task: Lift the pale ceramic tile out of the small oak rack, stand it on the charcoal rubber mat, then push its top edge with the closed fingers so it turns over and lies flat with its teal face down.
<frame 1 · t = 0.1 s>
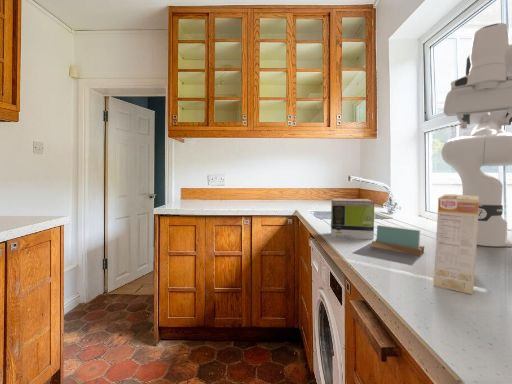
hand: (483, 126, 81), 39 cm above the countertop, tool pointing down, fingers open, 8 cm apart
tea box: (350, 237, 107), on the countertop
mat: (388, 254, 83), on the countertop
coffeecake box: (454, 281, 63), on the countertop
tile: (397, 238, 87), on the mat, point 4 cm above the countertop
rack: (397, 246, 87), on the mat, point 1 cm above the countertop
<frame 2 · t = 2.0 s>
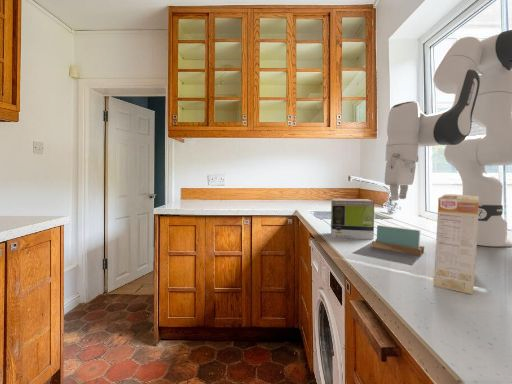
hand: (398, 199, 86), 17 cm above the countertop, tool pointing down, fingers open, 8 cm apart
nothing on the countertop moved.
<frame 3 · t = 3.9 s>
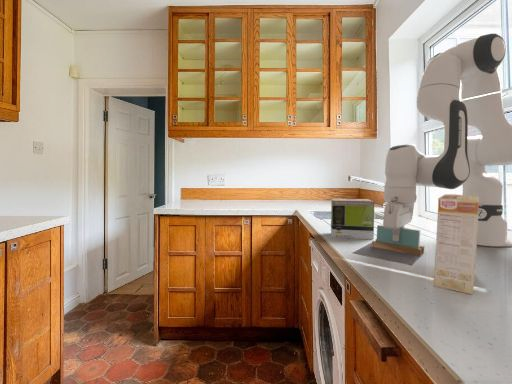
hand: (397, 239, 87), 4 cm above the countertop, tool pointing down, fingers closed on tile, 2 cm apart
tile: (397, 238, 87), on the mat, point 4 cm above the countertop, touching gripper
everything else where it was.
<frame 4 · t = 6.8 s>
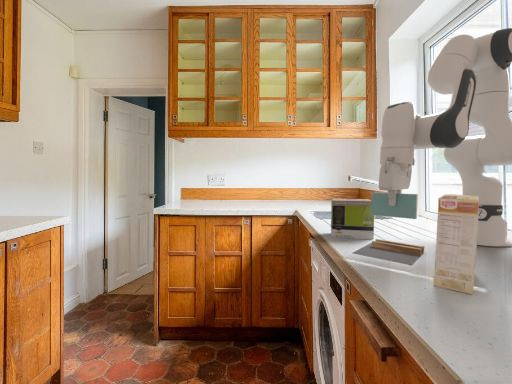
hand: (394, 205, 82), 15 cm above the countertop, tool pointing down, fingers closed on tile, 2 cm apart
tile: (393, 204, 82), point 15 cm above the countertop, touching gripper
everything else where it was.
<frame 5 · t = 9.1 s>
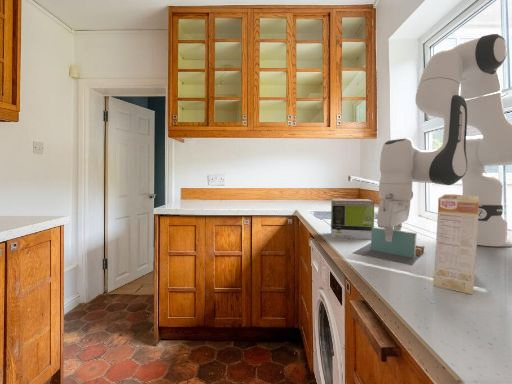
hand: (392, 239, 82), 5 cm above the countertop, tool pointing down, fingers open, 6 cm apart
tile: (392, 241, 82), on the mat, point 4 cm above the countertop
everything else where it was.
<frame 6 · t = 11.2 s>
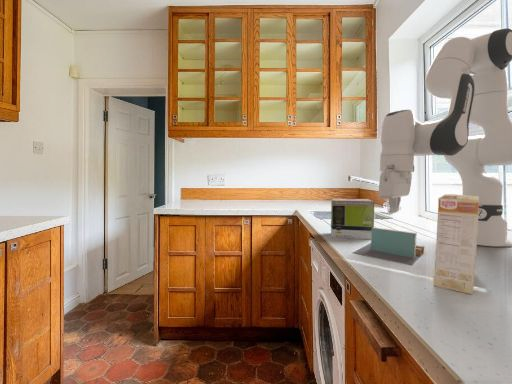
hand: (394, 212, 82), 13 cm above the countertop, tool pointing down, fingers closed
nothing on the countertop moved.
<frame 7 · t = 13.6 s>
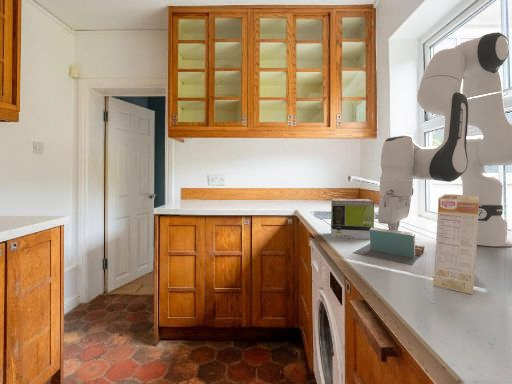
hand: (393, 235, 83), 6 cm above the countertop, tool pointing down, fingers closed
tile: (391, 241, 82), on the mat, point 4 cm above the countertop, tilted 17°
everything else where it was.
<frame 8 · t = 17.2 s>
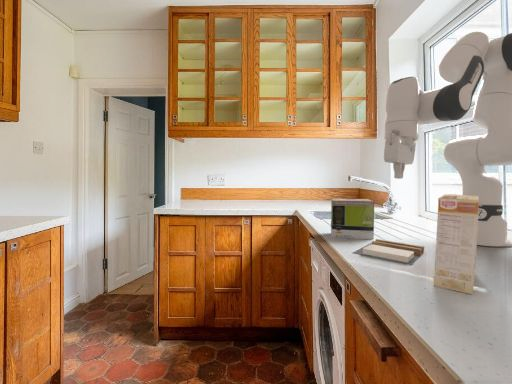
hand: (398, 178, 84), 23 cm above the countertop, tool pointing down, fingers closed
tile: (388, 253, 79), on the mat, point 1 cm above the countertop, tilted 90°
everything else where it was.
at the end: tile tilted 90°; tile inside the target area (2.6 cm from its centre), point 1.5 cm above the countertop; the gripper is holding nothing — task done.
